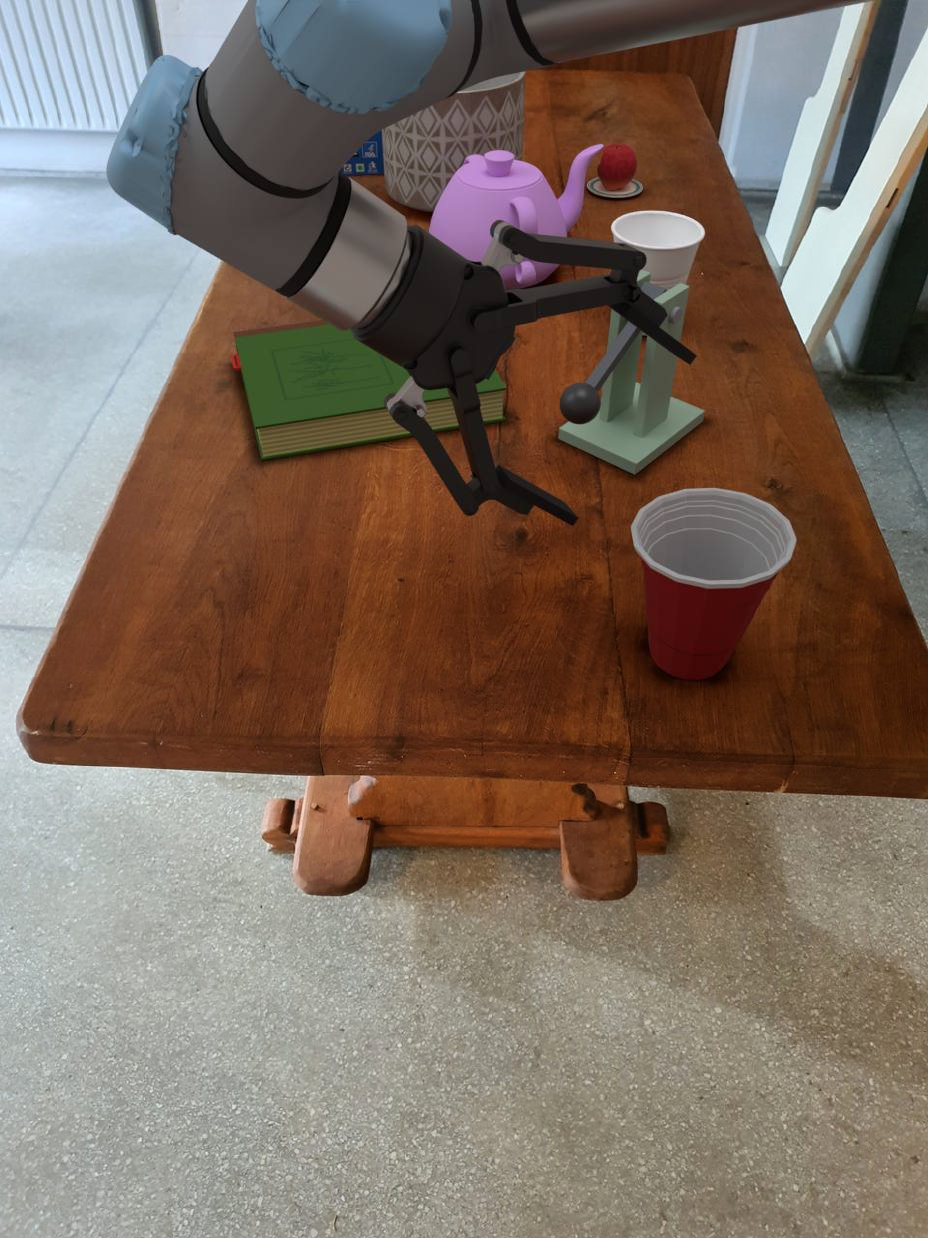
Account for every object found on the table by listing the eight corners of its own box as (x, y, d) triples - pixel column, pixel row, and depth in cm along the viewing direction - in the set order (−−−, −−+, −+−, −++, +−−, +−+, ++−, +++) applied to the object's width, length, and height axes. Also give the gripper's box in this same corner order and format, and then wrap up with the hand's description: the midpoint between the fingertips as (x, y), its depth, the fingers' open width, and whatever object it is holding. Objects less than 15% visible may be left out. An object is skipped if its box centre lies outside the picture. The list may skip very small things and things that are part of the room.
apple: (608, 204, 134) (613, 155, 129) (576, 186, 139) (579, 138, 134) (653, 193, 136) (659, 145, 132) (620, 176, 141) (625, 129, 137)
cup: (694, 345, 105) (712, 247, 97) (605, 345, 105) (616, 247, 97) (681, 304, 112) (697, 209, 104) (597, 303, 112) (607, 209, 104)
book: (454, 333, 107) (454, 301, 104) (505, 420, 94) (506, 387, 92) (232, 365, 102) (226, 333, 100) (253, 462, 89) (247, 428, 87)
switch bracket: (634, 475, 88) (657, 327, 77) (557, 439, 92) (569, 293, 82) (703, 421, 94) (732, 277, 84) (628, 389, 98) (647, 249, 88)
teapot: (630, 290, 114) (646, 171, 105) (462, 320, 109) (462, 197, 99) (556, 222, 129) (564, 112, 120) (405, 245, 124) (400, 132, 114)
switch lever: (589, 438, 83) (580, 416, 80) (557, 423, 85) (547, 401, 82) (677, 312, 85) (672, 285, 82) (644, 299, 86) (637, 273, 83)
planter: (418, 235, 126) (412, 99, 115) (366, 186, 139) (356, 59, 127) (544, 210, 132) (552, 79, 121) (484, 165, 145) (485, 43, 133)
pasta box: (387, 173, 142) (375, -51, 123) (334, 175, 142) (313, -50, 122) (385, 114, 162) (374, -88, 143) (338, 115, 162) (321, -87, 142)
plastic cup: (653, 584, 77) (676, 462, 69) (780, 639, 72) (821, 515, 64) (586, 664, 71) (602, 540, 62) (720, 729, 66) (757, 606, 58)
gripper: (474, 72, 55) (708, 267, 66) (267, 430, 63) (507, 551, 74) (519, 82, 49) (767, 295, 60) (284, 476, 57) (543, 600, 68)
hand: (625, 436), depth 67 cm, fingers open, 13 cm apart
